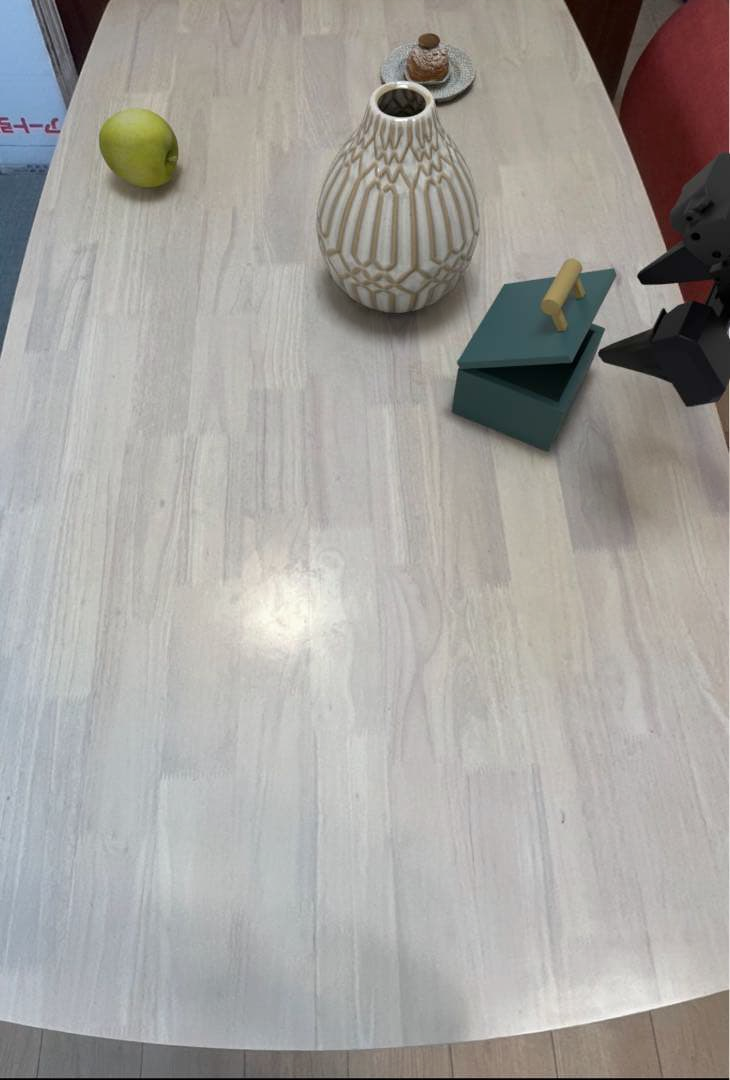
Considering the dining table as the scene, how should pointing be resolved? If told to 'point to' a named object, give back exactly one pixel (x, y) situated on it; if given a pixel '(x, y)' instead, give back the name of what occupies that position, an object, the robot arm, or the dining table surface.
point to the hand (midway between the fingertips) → (620, 316)
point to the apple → (139, 147)
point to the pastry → (430, 67)
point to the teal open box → (525, 394)
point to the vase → (398, 205)
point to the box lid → (539, 319)
